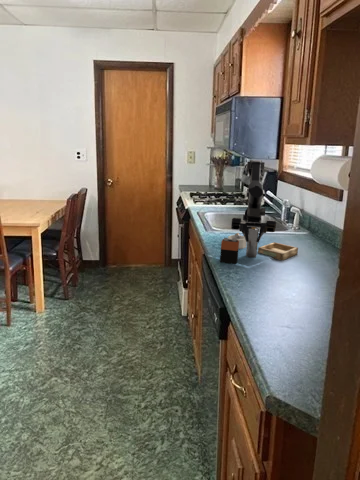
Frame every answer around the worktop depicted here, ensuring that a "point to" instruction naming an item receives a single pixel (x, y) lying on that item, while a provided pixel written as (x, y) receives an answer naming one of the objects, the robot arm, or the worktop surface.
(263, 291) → the worktop surface
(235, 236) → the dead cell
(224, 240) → the battery
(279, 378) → the worktop surface
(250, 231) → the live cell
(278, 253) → the wooden tray
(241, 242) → the cup
